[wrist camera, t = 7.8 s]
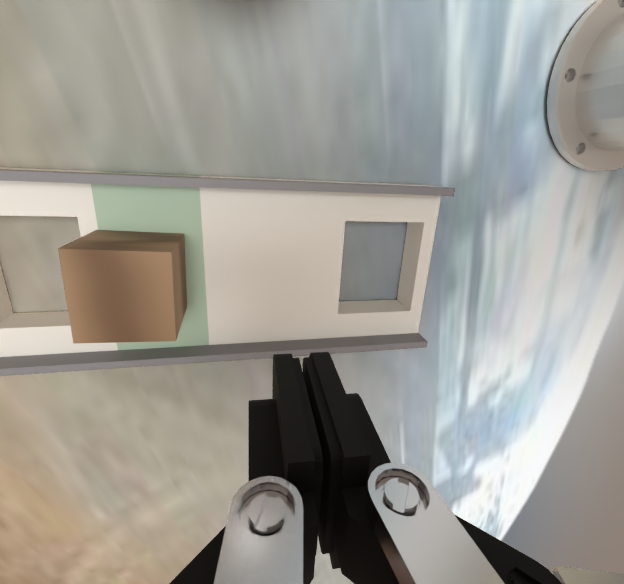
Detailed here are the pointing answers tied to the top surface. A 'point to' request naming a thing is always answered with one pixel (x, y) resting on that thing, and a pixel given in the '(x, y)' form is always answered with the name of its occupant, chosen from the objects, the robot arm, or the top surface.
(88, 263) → the walnut block
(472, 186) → the top surface
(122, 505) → the top surface
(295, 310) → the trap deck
